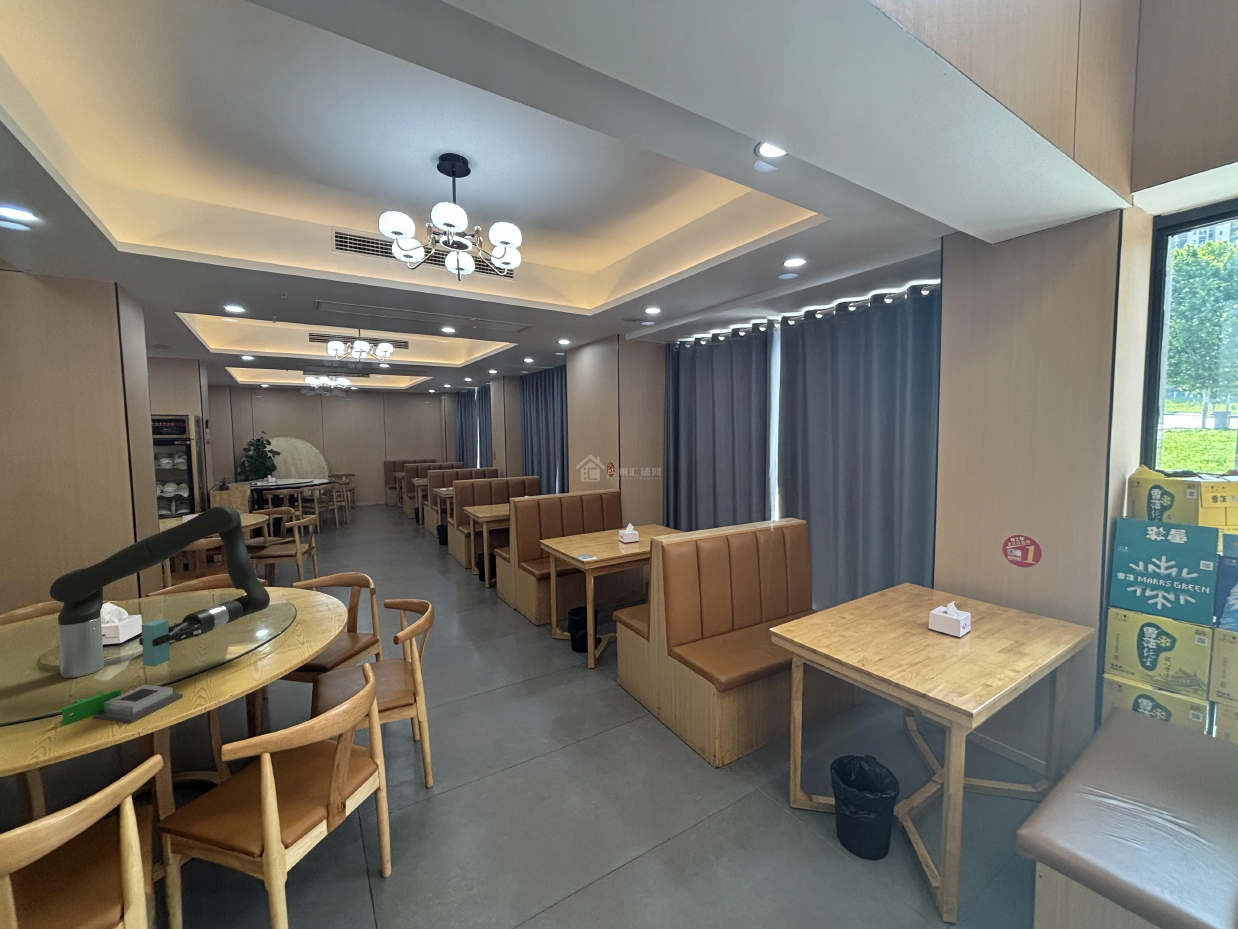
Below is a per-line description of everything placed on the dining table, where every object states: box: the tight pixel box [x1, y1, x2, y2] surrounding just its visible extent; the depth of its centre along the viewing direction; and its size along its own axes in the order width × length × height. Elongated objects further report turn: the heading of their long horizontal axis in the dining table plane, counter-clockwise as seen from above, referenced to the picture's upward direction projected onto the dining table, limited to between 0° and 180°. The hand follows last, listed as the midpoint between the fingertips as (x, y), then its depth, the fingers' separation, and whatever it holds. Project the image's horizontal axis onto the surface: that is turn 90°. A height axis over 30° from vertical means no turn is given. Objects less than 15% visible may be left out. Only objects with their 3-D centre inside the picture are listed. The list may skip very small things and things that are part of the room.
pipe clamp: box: [61, 688, 122, 726], centre depth 136 cm, size 11×4×5 cm, turn 153°
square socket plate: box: [92, 684, 184, 724], centre depth 139 cm, size 13×13×4 cm
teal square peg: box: [141, 619, 171, 667], centre depth 142 cm, size 4×4×12 cm
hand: (147, 642), depth 140 cm, fingers closed on teal square peg, 4 cm apart
